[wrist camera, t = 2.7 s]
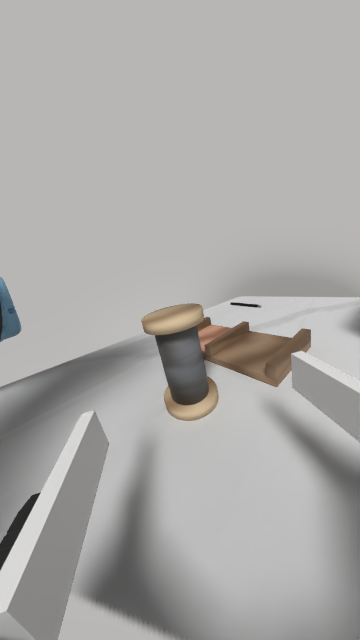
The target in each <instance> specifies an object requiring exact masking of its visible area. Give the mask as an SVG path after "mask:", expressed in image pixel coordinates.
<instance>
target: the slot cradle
mask: <svg viewBox="0 0 360 640" xmlns="http://www.w3.org/2000/svg"><path fill="white" fill-rule="evenodd" d="M197 330H198V335H199V340H200V345H201V350H202V355H203V359H205V360H208V361H211V362H213V363H216V364H218V365H221V366H224V367H226V368H229V369H231V370H234V371H237V372H239V373H242V374H244V375H247V376H250V377H252V378H255V379H257V380H260V381H262V382H265V383H268V384H270V385H273V386H275V387H277V386H278V385H279V384H280V383H281V381H282V380H283V379H284V378H285V377H286V375H287V374H288V373H289V372H290V371H291V370H292V363H291V354H292V353H295V352H299V351H303V352H305V353H306V352H307V350H308V349H309V348H310V347H311V330H309V329H301V330H300V331H299V332H298V333H297V334H296V335H295V336H294V337H293V338H288V337H282V336H276V335H270V334H264V333H258V332H252V331H249V322H242V323H240V324H238V325H237V326H235V327H234V328H228V327H221V326H215V325H211V321H210V317H206V318H204V319H203V321H202V322H201V323H199V324H198V325H197Z"/></svg>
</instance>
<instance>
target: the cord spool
mask: <svg viewBox="0 0 360 640" xmlns="http://www.w3.org/2000/svg"><path fill="white" fill-rule="evenodd" d="M203 319H204V314H203V308H202V306H201V305H199V304H181V305H175V306H171V307H166V308H163V309H160V310H157V311H154V312H152V313H150V314H148V315H146V316H144V317H143V318H142V319H141V322H142V325H143V329H144V332H145V333H147V334H150V335H155V338H156V342H157V345H158V349H159V352H160V356H161V360H162V363H163V367H164V371H165V374H166V378H167V382H168V385H169V386H168V387H167V389H166V391H165V393H164V401H165V404H166V408H167V410H168V412H169V413H170V414H171V415H172V416H173V417H175V418H177V419H179V420H185V421H191V420H197V419H200V418H203V417H205V416H206V415H208V414H209V413H211V412H212V411H213V410H214V408H215V407H216V405H217V403H218V391H217V386H216V384H215V382H214V381H213V380H212V379H211V378H209V377H207V375H206V370H205V365H204V360H203V355H202V350H201V345H200V340H199V335H198V330H197V325H198V324H199V323H201V322H202V321H203Z"/></svg>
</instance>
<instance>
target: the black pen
mask: <svg viewBox="0 0 360 640" xmlns="http://www.w3.org/2000/svg"><path fill="white" fill-rule="evenodd" d="M230 305H240V306H248V307H260V306H261V305H255V304H244V303H231V304H230Z"/></svg>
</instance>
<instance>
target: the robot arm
mask: <svg viewBox="0 0 360 640" xmlns="http://www.w3.org/2000/svg"><path fill="white" fill-rule="evenodd" d="M20 331H21V324H20V321H19V318H18V315H17V313H16V310H15V307H14V305H13V302H12V299H11V297H10V294H9V292H8V289H7V287H6V285H5V282H4V280H3V279H2V278H1V277H0V342H1V341H3V340H4V339H7V338H10V337H13V336H16V335H17V334H19V332H20ZM291 363H292V385H293V388H294V389H295V390H296V391H297V392H298V393H300V394H301V395H302V396H303V397H305V398H306V399H307V400H308V401H310V402H311V403H312V404H313V405H314V406H316V407H317V408H318V409H319V410H321V411H322V412H323V413H324V414H325V415H327V416H328V417H329V418H330V419H332V420H333V421H334V422H335V423H337V424H338V425H339V426H340V427H341V428H343V429H344V430H345V431H346V432H348V433H349V434H350V435H351V436H353V437H354V438H355V439H356V440H357V441H359V442H360V381H359V380H357V379H355V378H354V377H352V376H350V375H348V374H346V373H344V372H342V371H340V370H338V369H336V368H334V367H332V366H330V365H328V364H326V363H324V362H322V361H320V360H319V359H317V358H315V357H313V356H311V355H309V354H307V353H305V352H303V351H299V352H295V353H292V354H291ZM108 446H109V442H108V440H107V437H106V435H105V433H104V431H103V428H102V426H101V424H100V422H99V419H98V417H97V415H96V413H95V410H93V411H89V412H86V413H82V414H81V416H80V418H79V420H78V422H77V424H76V426H75V428H74V429H73V431H72V433H71V435H70V437H69V439H68V441H67V443H66V445H65V447H64V449H63V451H62V453H61V455H60V457H59V458H58V460H57V462H56V464H55V466H54V468H53V470H52V472H51V474H50V476H49V478H48V480H47V482H46V484H45V485H44V487H43V489H42V491H41V493H38V494H35V495H32V496H31V497H30V499H29V500H28V501H27V502H26V503H25V505H24V506H23V507H22V508H21V510H20V511H19V512H18V514H17V516H16V517H15V519H14V521H13V523H12V524H11V526H10V528H9V530H8V531H7V535H6V536H5V537H4V538H3V540H2V542H1V544H0V640H58V636H59V632H60V628H61V625H62V621H63V617H64V613H65V609H66V605H67V602H68V598H69V594H70V590H71V587H72V583H73V579H74V575H75V571H76V568H77V564H78V560H79V556H80V552H81V549H82V545H83V541H84V537H85V534H86V530H87V526H88V522H89V518H90V515H91V511H92V507H93V503H94V499H95V496H96V492H97V488H98V484H99V480H100V477H101V473H102V469H103V465H104V461H105V458H106V454H107V450H108Z"/></svg>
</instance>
